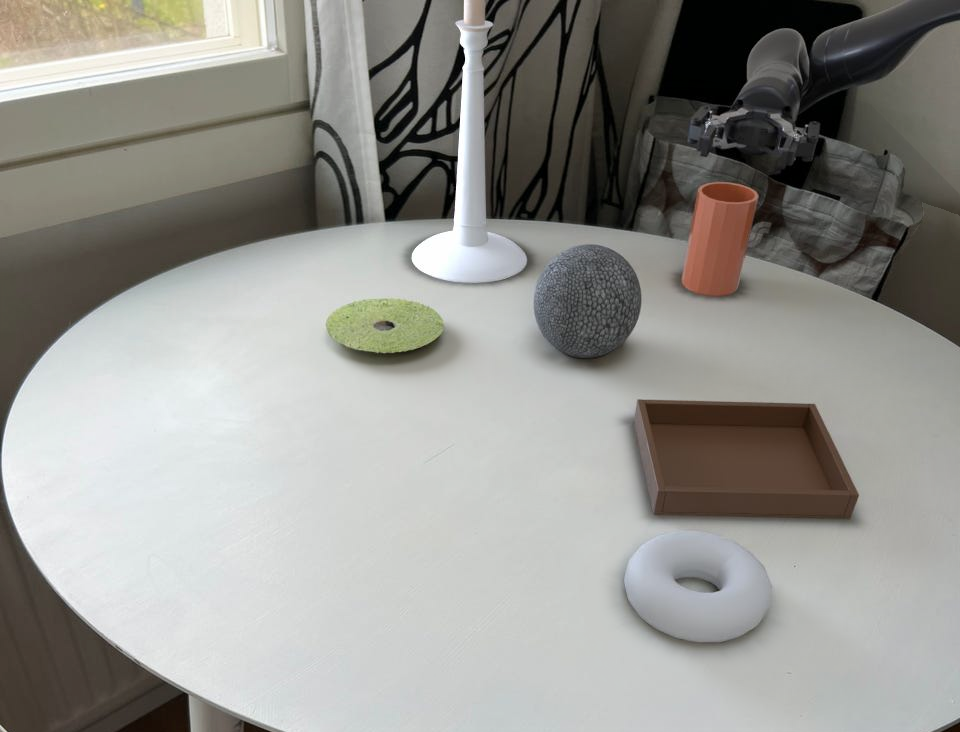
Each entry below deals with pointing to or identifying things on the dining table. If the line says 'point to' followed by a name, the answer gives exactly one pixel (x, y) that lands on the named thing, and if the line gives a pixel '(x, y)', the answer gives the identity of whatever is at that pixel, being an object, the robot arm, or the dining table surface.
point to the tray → (741, 460)
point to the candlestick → (471, 182)
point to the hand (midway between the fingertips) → (744, 153)
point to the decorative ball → (587, 301)
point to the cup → (719, 238)
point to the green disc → (384, 325)
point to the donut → (692, 610)
